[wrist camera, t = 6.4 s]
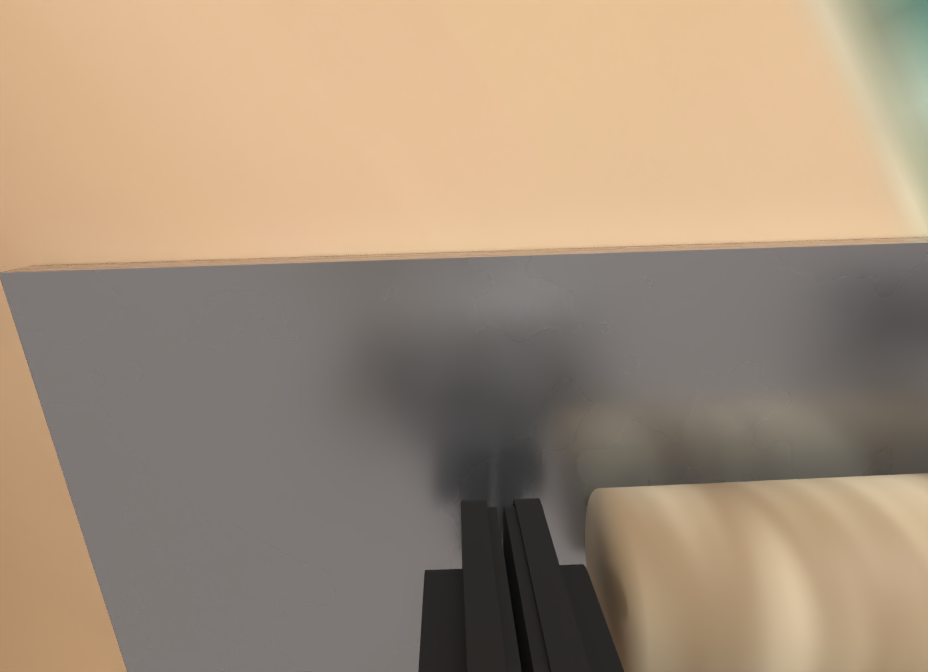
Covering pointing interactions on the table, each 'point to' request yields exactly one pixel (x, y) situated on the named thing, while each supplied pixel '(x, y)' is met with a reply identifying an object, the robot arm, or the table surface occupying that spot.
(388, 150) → the table surface
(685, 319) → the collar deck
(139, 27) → the table surface
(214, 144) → the table surface
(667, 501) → the dowel
